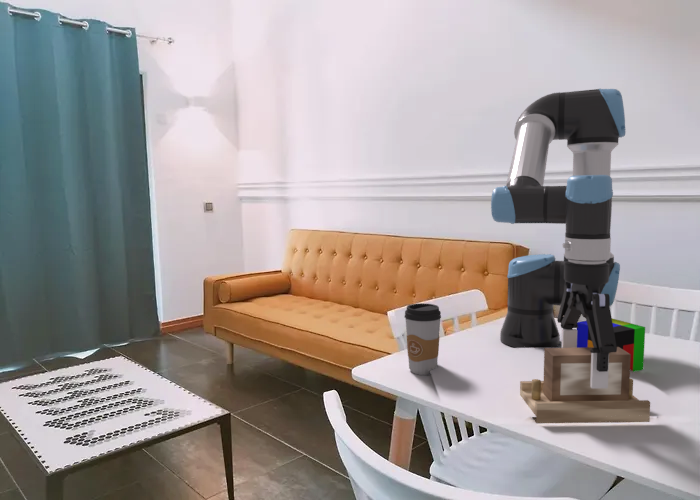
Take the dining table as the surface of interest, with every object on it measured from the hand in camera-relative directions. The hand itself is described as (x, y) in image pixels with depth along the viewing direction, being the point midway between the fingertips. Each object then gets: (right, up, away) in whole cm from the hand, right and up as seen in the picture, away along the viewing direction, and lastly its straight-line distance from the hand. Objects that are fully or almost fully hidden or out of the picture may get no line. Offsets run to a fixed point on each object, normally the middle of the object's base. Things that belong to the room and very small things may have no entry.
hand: (582, 374), depth 100 cm
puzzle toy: (+17, -4, +24) cm, 30 cm away
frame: (+1, -5, +1) cm, 5 cm away
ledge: (0, -7, +1) cm, 7 cm away
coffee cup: (-26, -5, +24) cm, 36 cm away
